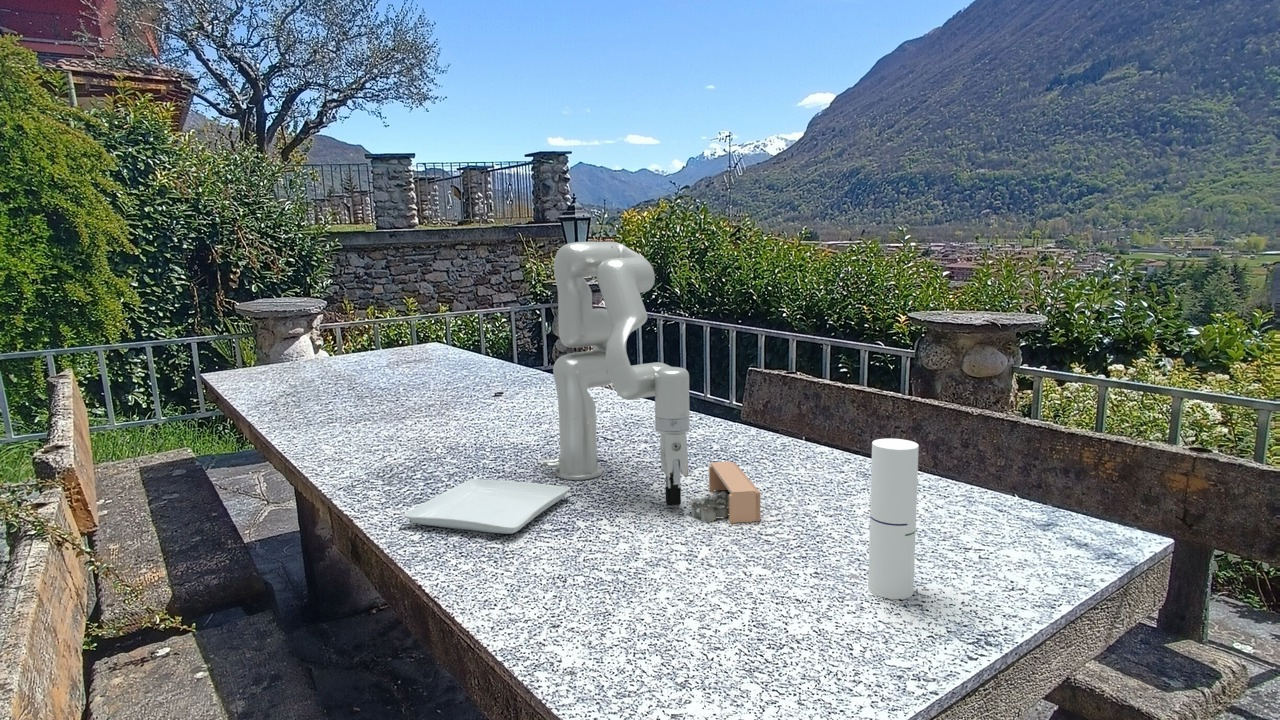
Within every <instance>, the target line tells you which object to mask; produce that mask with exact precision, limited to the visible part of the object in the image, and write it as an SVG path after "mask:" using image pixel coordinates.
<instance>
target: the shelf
mask: <svg viewBox="0 0 1280 720" xmlns="http://www.w3.org/2000/svg"><path fill="white" fill-rule="evenodd" d="M709 490H710V491H713V492H715V491H714V490H728V491H727V492H729V494H728V495H729V515H728V523H729V522H730V523H732V524H740V523H739V522H749V523H758V522H757V521H760V522H761V491H760V490H759V489H758V488H757V486H755V484H754V483H753V482H752V481H751V480H750V478H749V477H748V476H747V475H746V474H745V472H744V471H743V470H742V469H741V468H740V466H739V465H738V464H737V463H736V462H732V461H716V462H715V461H713V462H712V461H711V462H710V465H708V491H709ZM710 491H709V492H710ZM752 521H753V522H752ZM754 521H756V522H754ZM737 522H738V523H737ZM730 523H729V524H730Z"/></svg>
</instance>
